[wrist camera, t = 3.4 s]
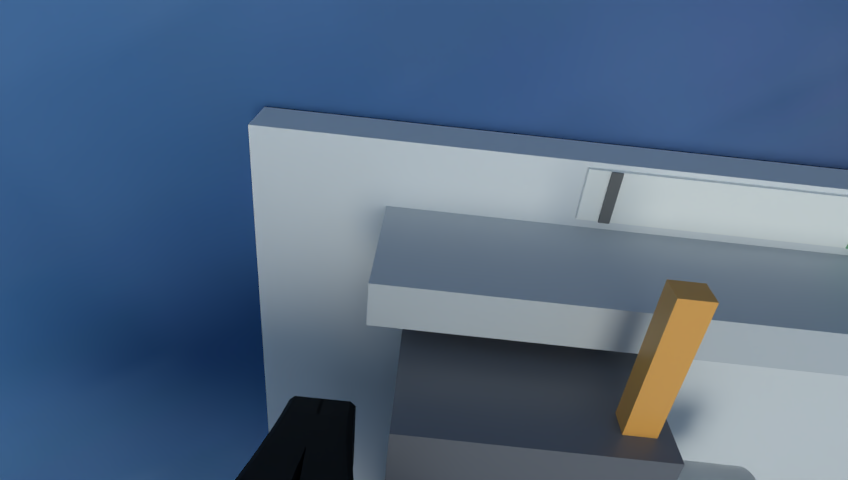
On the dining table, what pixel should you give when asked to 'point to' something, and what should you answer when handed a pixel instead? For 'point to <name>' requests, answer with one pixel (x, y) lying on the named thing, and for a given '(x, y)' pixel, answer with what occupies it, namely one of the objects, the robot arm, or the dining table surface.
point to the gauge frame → (553, 272)
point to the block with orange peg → (549, 404)
